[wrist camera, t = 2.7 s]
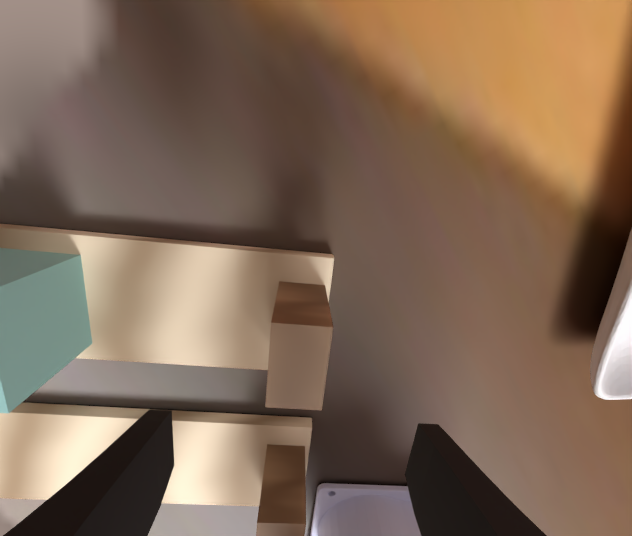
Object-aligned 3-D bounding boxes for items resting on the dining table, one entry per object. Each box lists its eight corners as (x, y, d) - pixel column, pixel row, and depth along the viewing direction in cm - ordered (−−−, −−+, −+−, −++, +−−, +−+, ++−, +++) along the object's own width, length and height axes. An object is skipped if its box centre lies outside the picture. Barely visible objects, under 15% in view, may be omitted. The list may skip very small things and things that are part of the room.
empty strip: (311, 417, 20) (314, 502, 15) (301, 495, 22) (301, 593, 17) (-21, 400, 18) (-143, 487, 13) (3, 485, 21) (-94, 588, 16)
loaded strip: (332, 254, 17) (346, 292, 11) (318, 365, 19) (324, 438, 14) (-72, 216, 15) (-260, 241, 10) (-37, 341, 17) (-178, 413, 12)
